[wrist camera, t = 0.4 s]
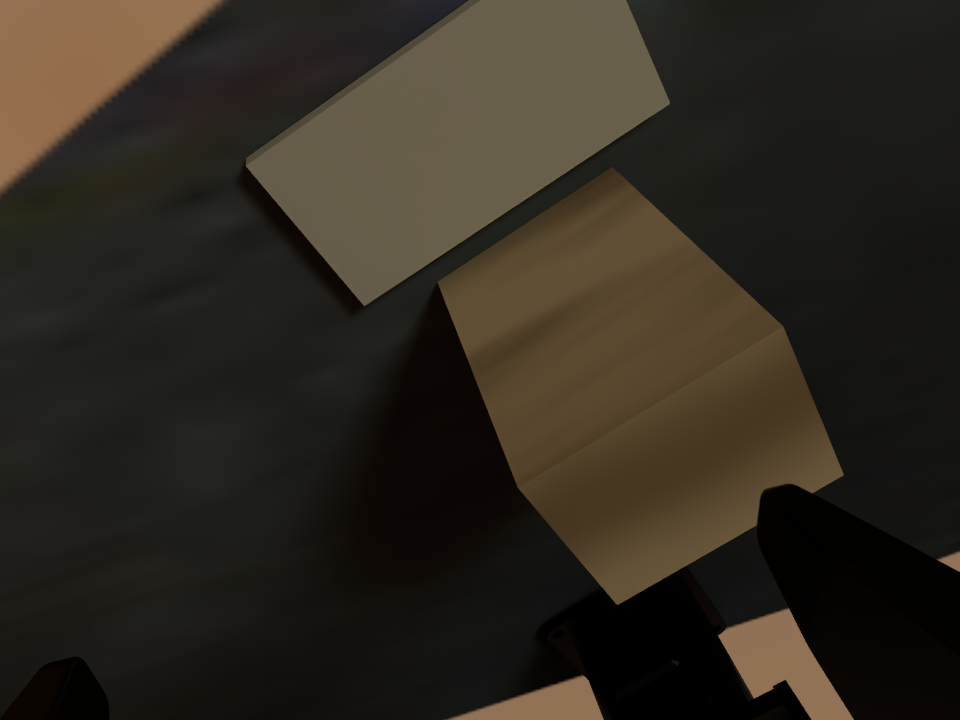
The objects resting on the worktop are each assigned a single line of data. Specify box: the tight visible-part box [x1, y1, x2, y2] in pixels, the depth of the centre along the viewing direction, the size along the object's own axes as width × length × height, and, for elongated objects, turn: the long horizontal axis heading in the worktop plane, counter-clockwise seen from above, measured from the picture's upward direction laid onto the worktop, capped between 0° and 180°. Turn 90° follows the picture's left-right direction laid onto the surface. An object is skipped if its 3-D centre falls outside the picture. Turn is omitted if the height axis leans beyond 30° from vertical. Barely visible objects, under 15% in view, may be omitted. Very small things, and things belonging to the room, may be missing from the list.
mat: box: [246, 0, 670, 306], centre depth 20 cm, size 5×10×1 cm, turn 122°
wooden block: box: [438, 167, 843, 605], centre depth 20 cm, size 5×6×9 cm
